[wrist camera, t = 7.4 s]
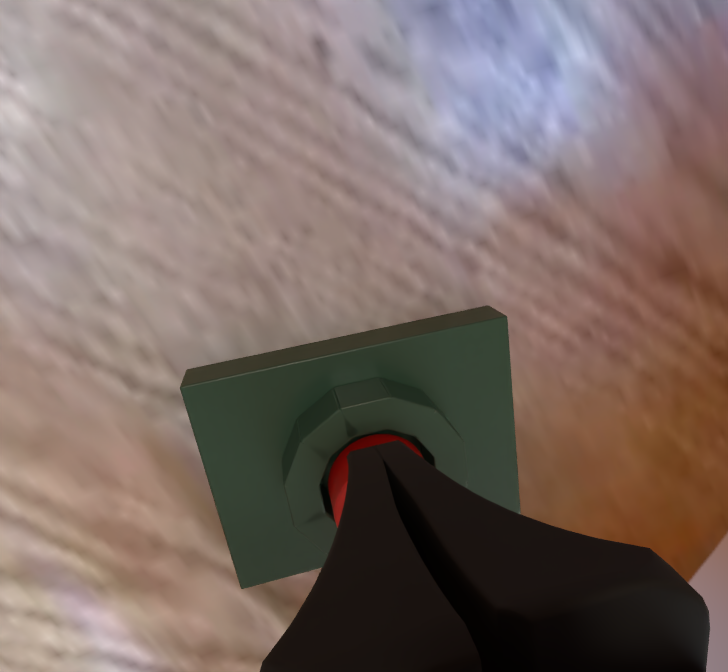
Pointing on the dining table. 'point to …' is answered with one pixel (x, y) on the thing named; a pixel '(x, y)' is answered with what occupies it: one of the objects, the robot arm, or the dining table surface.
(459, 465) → the control block
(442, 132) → the dining table surface
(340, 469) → the button
